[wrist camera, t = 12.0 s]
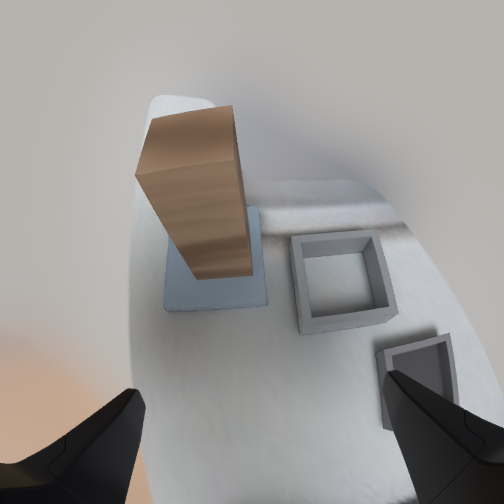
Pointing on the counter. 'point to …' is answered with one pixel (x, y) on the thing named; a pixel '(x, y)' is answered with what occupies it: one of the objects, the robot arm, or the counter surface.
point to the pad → (216, 280)
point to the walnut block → (199, 190)
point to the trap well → (421, 367)
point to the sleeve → (335, 246)
